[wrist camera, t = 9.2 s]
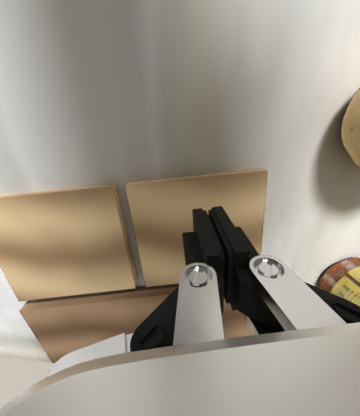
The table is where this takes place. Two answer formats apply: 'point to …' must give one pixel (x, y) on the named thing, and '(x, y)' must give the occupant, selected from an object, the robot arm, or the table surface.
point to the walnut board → (104, 317)
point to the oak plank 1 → (65, 243)
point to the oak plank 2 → (190, 215)
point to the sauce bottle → (343, 280)
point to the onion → (352, 129)
